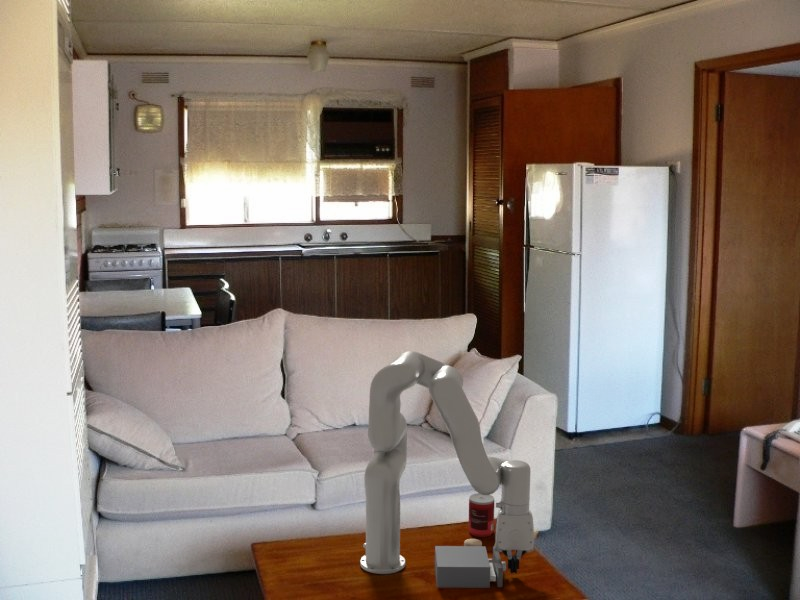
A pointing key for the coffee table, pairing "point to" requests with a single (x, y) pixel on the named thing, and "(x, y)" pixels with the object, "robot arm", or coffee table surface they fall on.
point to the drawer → (497, 568)
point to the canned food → (481, 515)
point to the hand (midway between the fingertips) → (513, 571)
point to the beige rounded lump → (472, 542)
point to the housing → (462, 566)
